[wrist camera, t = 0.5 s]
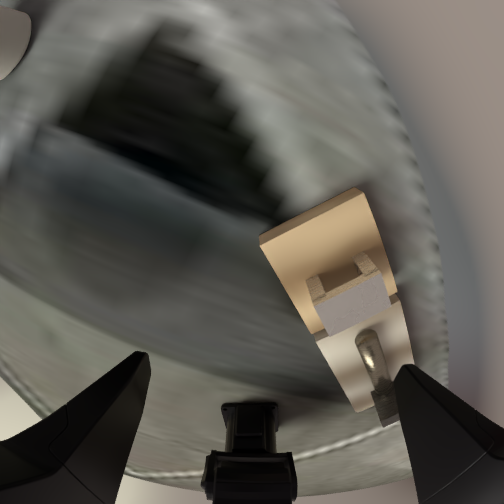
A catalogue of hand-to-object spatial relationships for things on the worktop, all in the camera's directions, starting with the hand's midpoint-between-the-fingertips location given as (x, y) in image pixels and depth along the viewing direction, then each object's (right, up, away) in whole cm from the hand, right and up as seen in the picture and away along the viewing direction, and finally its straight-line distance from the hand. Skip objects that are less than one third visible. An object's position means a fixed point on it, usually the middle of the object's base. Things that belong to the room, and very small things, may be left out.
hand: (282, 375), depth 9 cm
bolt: (+11, -7, +15) cm, 20 cm away
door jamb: (+9, -3, +16) cm, 19 cm away
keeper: (+6, +2, +12) cm, 13 cm away
